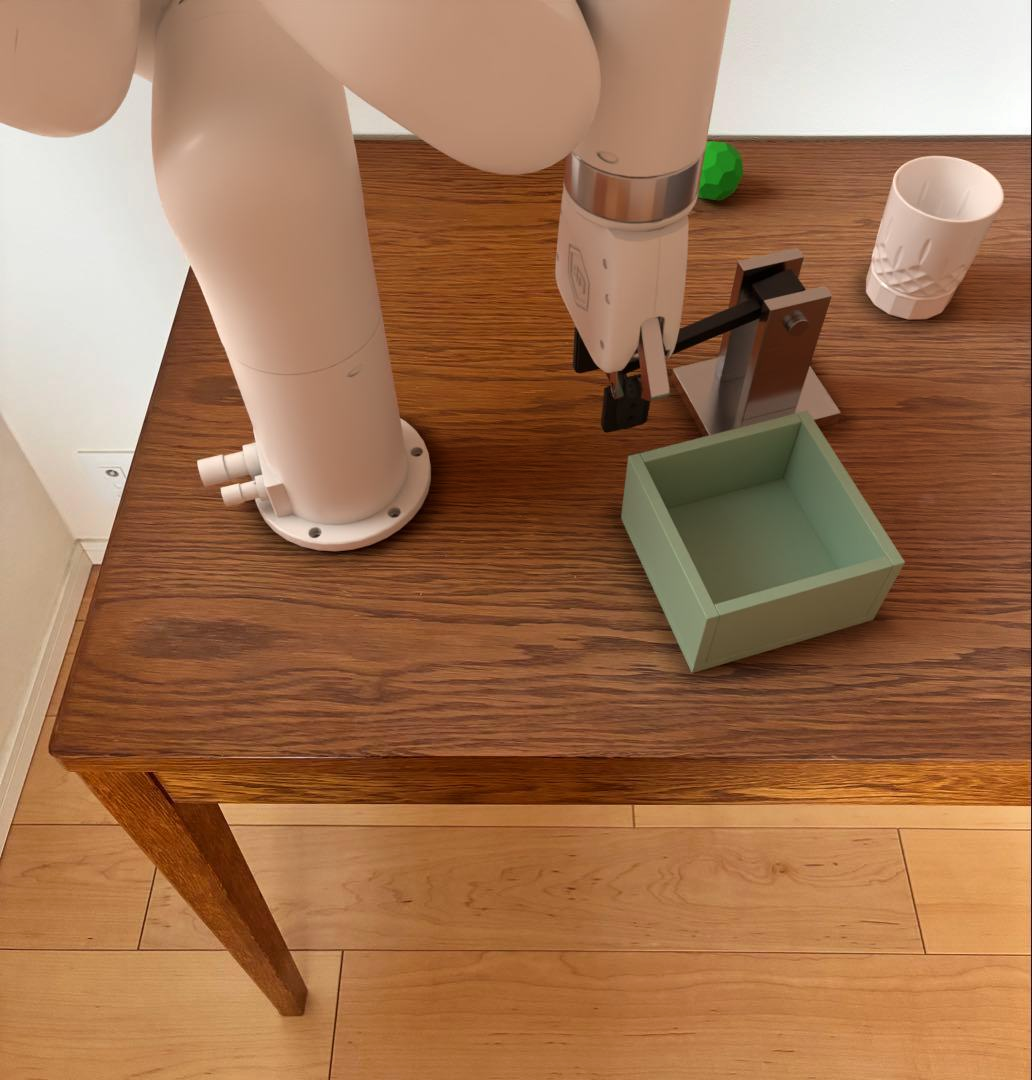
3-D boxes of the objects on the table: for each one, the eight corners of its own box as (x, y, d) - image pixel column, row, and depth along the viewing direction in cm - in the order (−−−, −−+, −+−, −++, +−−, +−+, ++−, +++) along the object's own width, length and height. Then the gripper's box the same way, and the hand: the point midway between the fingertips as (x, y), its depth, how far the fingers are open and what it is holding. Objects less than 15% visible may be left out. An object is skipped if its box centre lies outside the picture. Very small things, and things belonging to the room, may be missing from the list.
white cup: (958, 331, 78) (1008, 227, 70) (856, 319, 79) (893, 215, 71) (954, 266, 82) (1000, 161, 74) (857, 255, 83) (892, 150, 75)
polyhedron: (678, 207, 87) (685, 160, 84) (686, 174, 90) (692, 127, 86) (735, 215, 87) (744, 167, 83) (741, 181, 89) (750, 133, 86)
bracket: (712, 455, 71) (739, 335, 62) (670, 379, 76) (689, 255, 66) (837, 423, 73) (883, 300, 63) (789, 350, 77) (825, 225, 68)
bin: (691, 673, 61) (706, 619, 56) (620, 518, 68) (627, 455, 63) (873, 620, 63) (905, 562, 58) (786, 474, 70) (807, 409, 65)
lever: (620, 408, 66) (614, 386, 64) (595, 357, 69) (589, 334, 67) (815, 327, 66) (815, 302, 64) (782, 279, 68) (781, 254, 66)
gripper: (521, 94, 58) (521, 325, 73) (623, 279, 49) (599, 501, 63) (640, 73, 59) (616, 305, 74) (762, 249, 50) (707, 474, 65)
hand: (609, 393), depth 69 cm, fingers closed on lever, 5 cm apart
